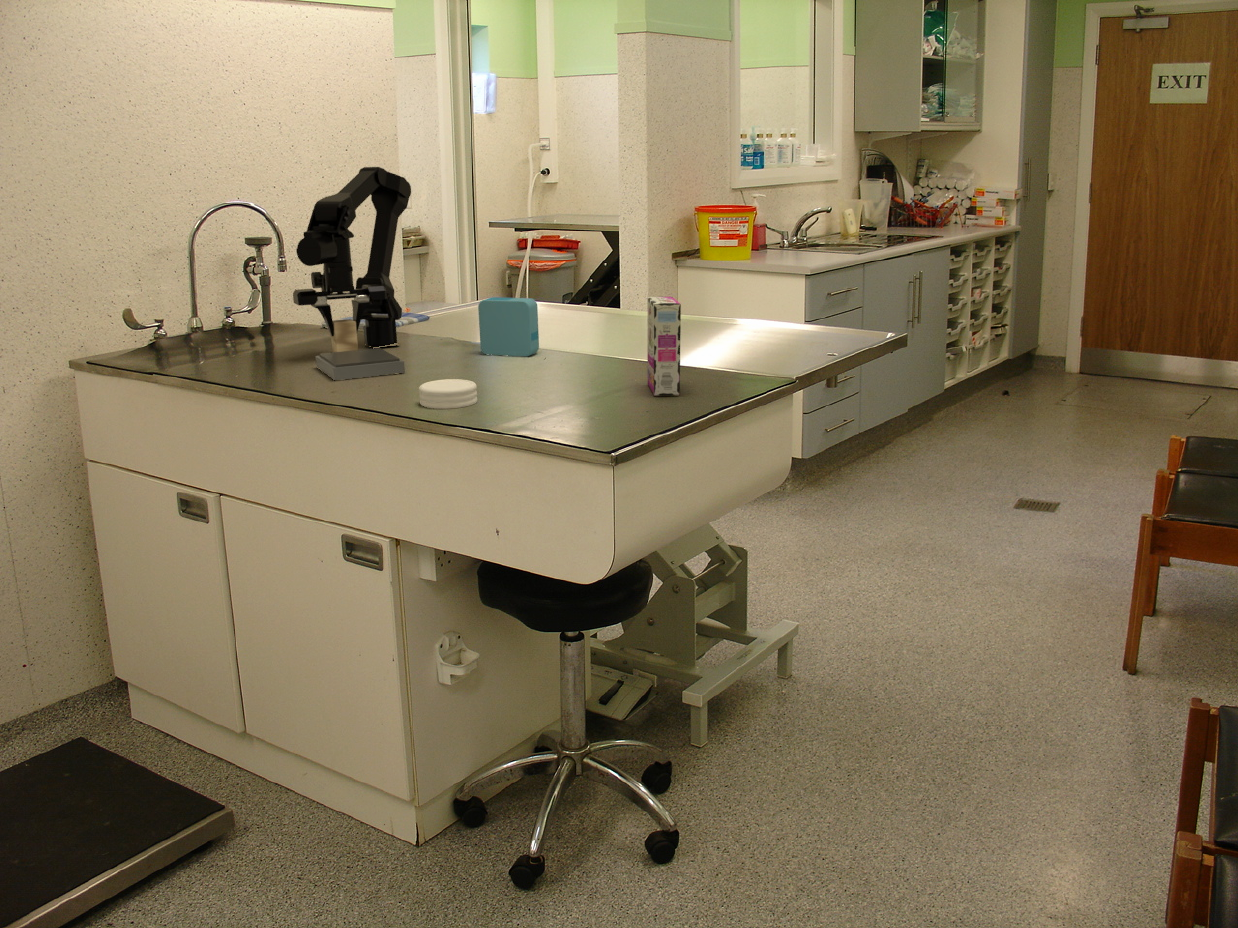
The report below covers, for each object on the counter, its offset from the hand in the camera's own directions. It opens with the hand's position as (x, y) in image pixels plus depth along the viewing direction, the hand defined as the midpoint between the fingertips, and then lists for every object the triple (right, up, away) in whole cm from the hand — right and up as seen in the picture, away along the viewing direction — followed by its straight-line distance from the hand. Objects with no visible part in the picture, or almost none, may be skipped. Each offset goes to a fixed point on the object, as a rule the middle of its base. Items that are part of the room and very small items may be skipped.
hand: (343, 335), depth 232 cm
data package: (+35, -4, +3) cm, 36 cm away
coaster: (+29, -17, -43) cm, 55 cm away
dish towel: (-4, +8, +49) cm, 50 cm away
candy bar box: (+67, -14, -36) cm, 78 cm away
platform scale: (+7, -9, -13) cm, 17 cm away
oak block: (0, -5, +1) cm, 5 cm away
